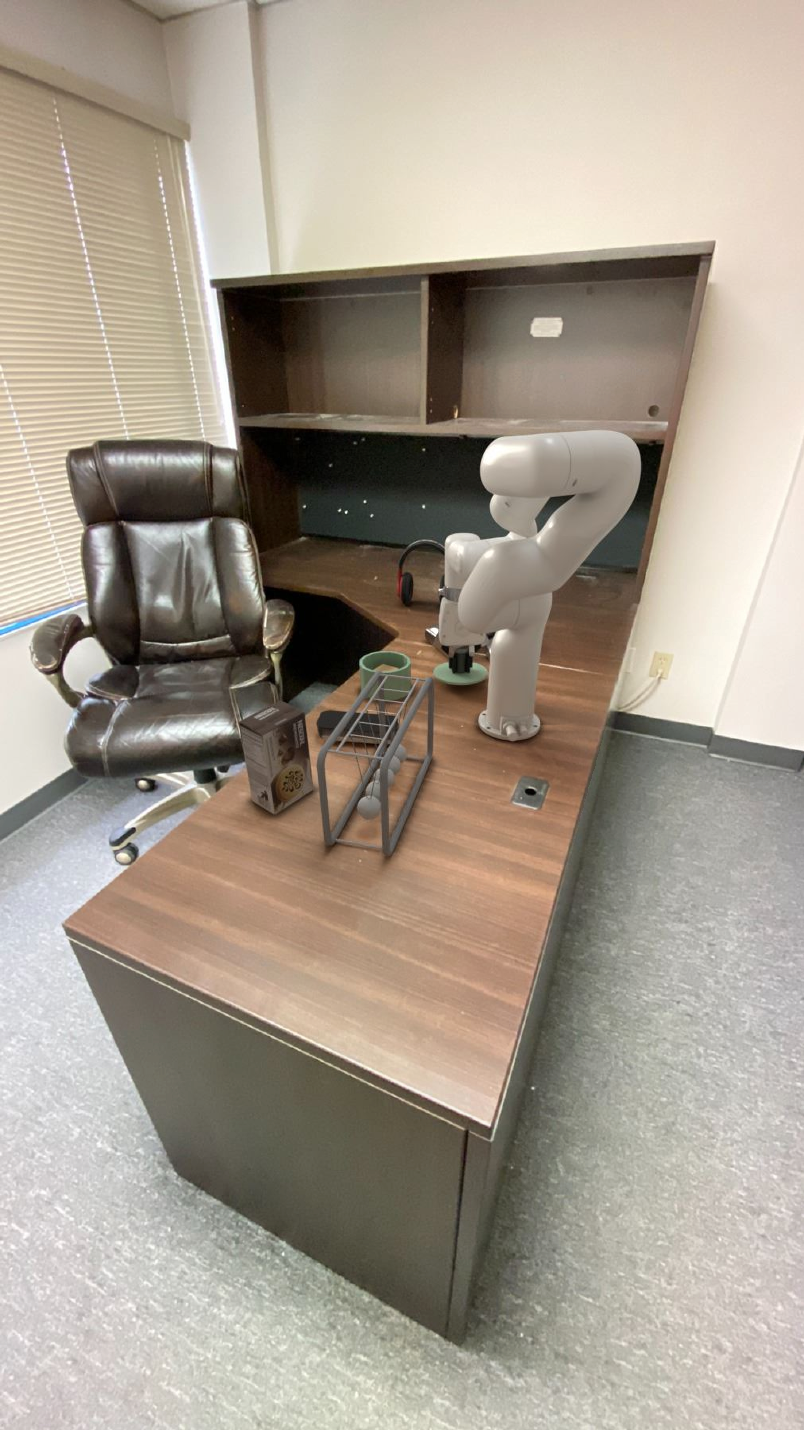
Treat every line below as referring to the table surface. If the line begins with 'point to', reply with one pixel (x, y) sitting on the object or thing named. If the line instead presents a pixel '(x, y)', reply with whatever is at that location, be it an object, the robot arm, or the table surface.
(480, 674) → the cover
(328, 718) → the black sponge
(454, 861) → the table surface
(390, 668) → the block
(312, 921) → the table surface
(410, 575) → the headphones
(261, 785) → the coffee box
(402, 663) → the pot
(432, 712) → the newton's cradle
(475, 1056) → the table surface
